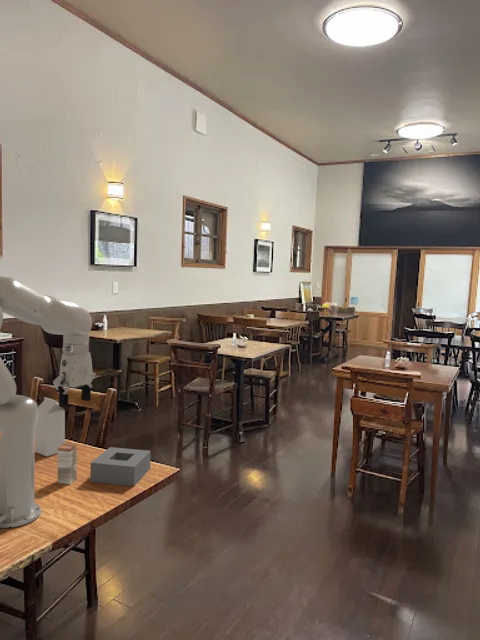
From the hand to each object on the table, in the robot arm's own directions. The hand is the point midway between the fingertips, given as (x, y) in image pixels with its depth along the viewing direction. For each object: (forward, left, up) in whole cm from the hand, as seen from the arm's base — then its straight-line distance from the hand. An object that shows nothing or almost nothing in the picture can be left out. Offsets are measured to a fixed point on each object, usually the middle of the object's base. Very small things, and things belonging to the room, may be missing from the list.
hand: (75, 403), depth 150 cm
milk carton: (+15, +17, -23) cm, 33 cm away
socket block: (+2, -15, -23) cm, 27 cm away
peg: (-6, -1, -23) cm, 23 cm away
